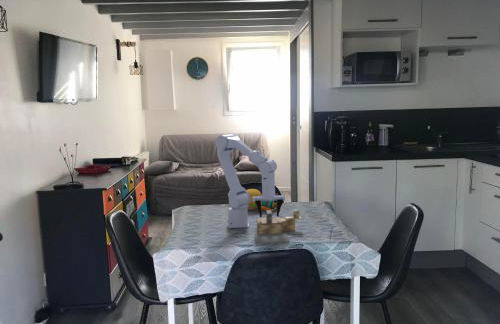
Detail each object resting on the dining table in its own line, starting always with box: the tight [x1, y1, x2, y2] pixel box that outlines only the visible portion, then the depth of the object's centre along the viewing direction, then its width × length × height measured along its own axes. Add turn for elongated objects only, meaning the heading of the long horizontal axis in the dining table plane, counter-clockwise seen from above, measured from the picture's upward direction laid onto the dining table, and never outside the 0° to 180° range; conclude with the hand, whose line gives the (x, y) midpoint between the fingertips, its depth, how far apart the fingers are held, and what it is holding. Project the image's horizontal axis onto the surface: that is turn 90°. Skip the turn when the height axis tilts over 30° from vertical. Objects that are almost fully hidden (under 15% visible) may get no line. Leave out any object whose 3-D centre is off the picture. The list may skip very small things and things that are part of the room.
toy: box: [246, 188, 279, 212], centre depth 243 cm, size 19×11×25 cm
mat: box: [254, 232, 291, 245], centre depth 190 cm, size 14×12×1 cm
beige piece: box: [284, 209, 302, 221], centre depth 202 cm, size 7×3×4 cm, turn 92°
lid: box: [256, 210, 282, 225], centre depth 201 cm, size 11×9×6 cm
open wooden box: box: [256, 218, 296, 234], centre depth 202 cm, size 17×9×5 cm, turn 92°
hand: (269, 216), depth 201 cm, fingers open, 7 cm apart
